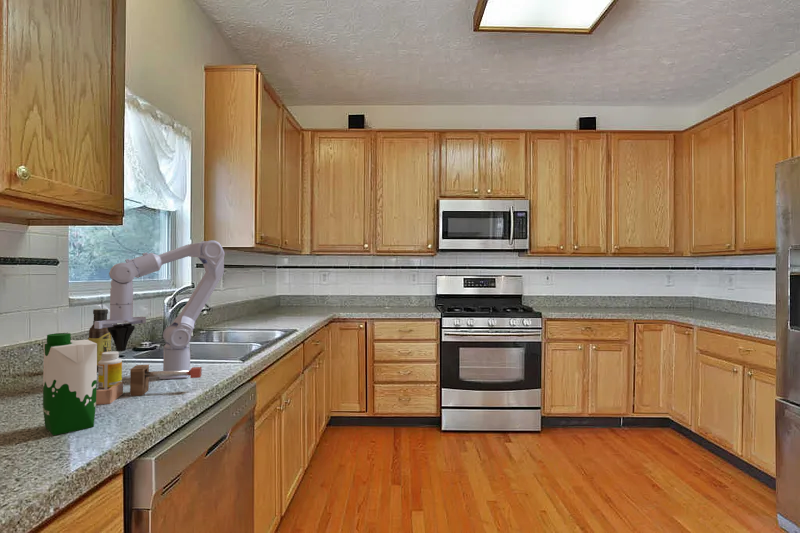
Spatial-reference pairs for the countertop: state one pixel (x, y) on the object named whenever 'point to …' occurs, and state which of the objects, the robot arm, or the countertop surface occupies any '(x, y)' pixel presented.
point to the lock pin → (177, 373)
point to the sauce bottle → (100, 334)
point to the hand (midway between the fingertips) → (120, 350)
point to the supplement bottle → (109, 370)
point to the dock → (109, 394)
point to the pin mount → (139, 380)
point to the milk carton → (69, 383)
